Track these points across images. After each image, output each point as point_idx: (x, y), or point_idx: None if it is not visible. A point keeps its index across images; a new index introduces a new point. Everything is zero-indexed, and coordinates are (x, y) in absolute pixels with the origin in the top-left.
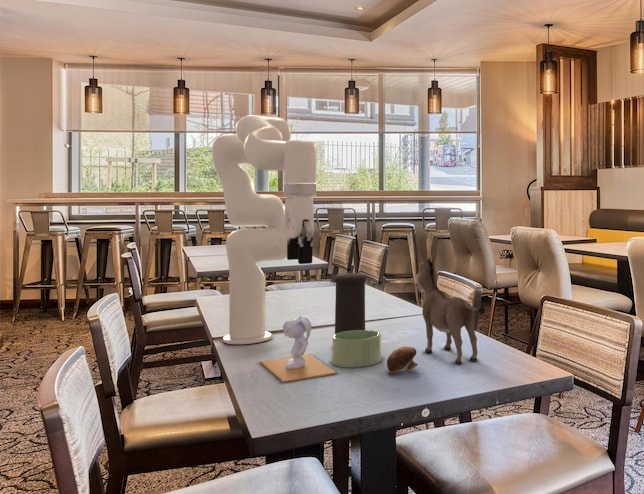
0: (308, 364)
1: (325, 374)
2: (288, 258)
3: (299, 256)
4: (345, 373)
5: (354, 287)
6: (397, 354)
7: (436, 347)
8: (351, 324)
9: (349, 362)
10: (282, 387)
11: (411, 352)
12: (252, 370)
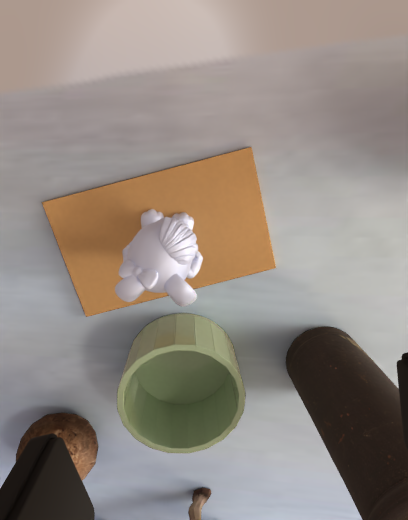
0: None
1: (77, 293)
2: (403, 362)
3: (2, 499)
4: (86, 332)
5: (362, 512)
6: None
7: (239, 510)
8: (307, 400)
9: (130, 349)
10: (6, 199)
11: None
12: (181, 127)
